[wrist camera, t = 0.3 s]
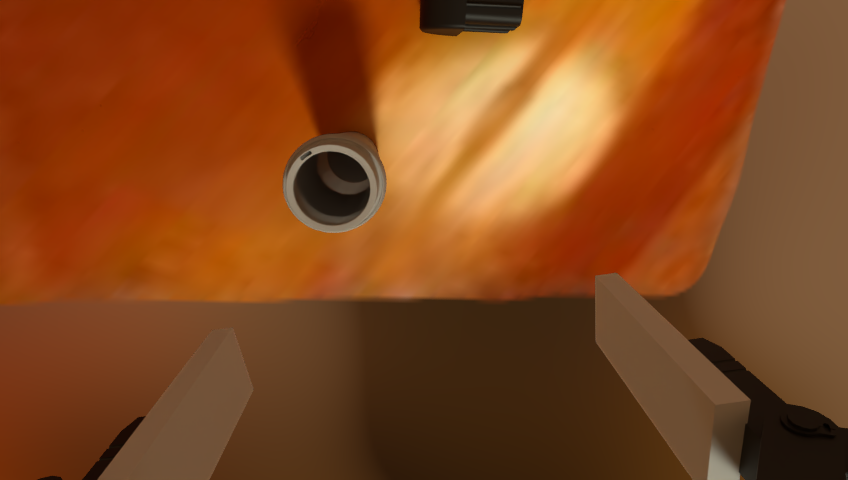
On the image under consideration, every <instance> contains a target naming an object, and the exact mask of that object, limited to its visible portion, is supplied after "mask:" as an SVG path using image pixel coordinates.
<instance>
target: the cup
mask: <svg viewBox="0 0 848 480" xmlns="http://www.w3.org/2000/svg"><path fill="white" fill-rule="evenodd" d="M385 192H386V173H385V170H384V166H383V164H382V162H381V160H380V157H379V154H378V151H377V148H376V146H375V145H374V143H373V142H372V141H371V139H369V138H368V137H367V136H365V135H363V134H361V133H358V132H345V133H339V134H325V135H320V136H317V137H315V138H312V139H310V140H308V141H307V142H305V143H304V144H302V145H301V146H300V147H299V148H298V149H297V150H296V151H295V152H294V153H293V154H292V156H291V157H290V159H289V161H288V163H287V165H286V167H285V171H284V175H283V193H284V197H285V200H286V202H287V205H288V207H289V208H290V210H291V211H292V213H293V214H294V215H295V216H296V217H297V218H298V219H299V220H300V221H301V222H303V223H304V224H305V225H307V226H309V227H311V228H313V229H315V230H319V231H323V232H331V233H338V232H345V231H349V230H352V229H355V228H357V227H359V226H361V225H362V224H364V223H366V222H367V221H368V220H369V219H370V218H372V217H373V215H374V214H375V213H376V212H377V211H378V209H379V207H380V206H381V204H382V202H383V199H384V196H385Z"/></svg>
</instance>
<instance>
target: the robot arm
mask: <svg viewBox="0 0 848 480" xmlns="http://www.w3.org/2000/svg"><path fill="white" fill-rule="evenodd" d="M595 302H596V303H595V307H596V343H597V344H598V346H599V347H600V348H601V350H602V351H603V353H604V354H605V355H606V357H607V358H608V360H609V361H610V363H611V364H612V365H613V367H614V368H615V370H616V371H617V372H618V374H619V375H620V377H621V378H622V380H623V381H624V383H625V384H626V385H627V387H628V388H629V390H630V391H631V392H632V394H633V395H634V397H635V398H636V400H637V401H638V402H639V404H640V405H641V407H642V408H643V410H644V411H645V412H646V414H647V415H648V417H649V418H650V419H651V421H652V422H653V424H654V425H655V426H656V428H657V429H658V431H659V432H660V434H661V435H662V436H663V438H664V439H665V441H666V442H667V444H668V445H669V446H670V448H671V449H672V451H673V452H674V454H675V455H676V456H677V458H678V459H679V460H680V462H681V464H682V465H683V466H684V468H685V469H686V471H687V472H688V474H689V475H690V476H691V478H692V479H693V480H739V479H740V474H741V475H742V477H743V478H744V479H745V480H848V428H840V427H838V426H837V425H836V424H835V423H834V422H832V421H831V420H830V419H829V418H827V417H825V416H824V415H822V414H820V413H819V412H816V411H814V410H811V409H808V408H805V407H802V406H796V405H790V404H786V403H785V402H784V401H783V400H782V399H780V398H779V397H778V396H777V395H776V394H775V393H774V392H772V391H771V390H770V389H769V388H768V387H766V385H764V384H763V383H762V382H761V381H760V380H759V379H757V378H756V377H755V376H754V375H753V374H752V373H751V372H750V371H746V368H745V367H744V366H742V365H741V364H740V363H739V362H738V361H735V358H733V357H732V356H731V355H730V354H729V353H728V352H727V351H725V350H724V349H723V348H722V347H720V346H718V345H716V344H714V343H712V342H710V341H708V340H706V339H704V338H698V339H691V340H687V339H686V338H685V337H684V336H683V335H682V334H681V333H680V332H679V331H677V330H676V329H675V328H674V327H673V326H672V325H671V324H670V323H669V322H668V321H667V320H666V319H665V318H664V317H663V316H662V315H661V314H659V312H657V311H656V310H655V309H654V308H653V307H652V306H651V305H650V304H649V303H648V302H647V301H646V300H645V299H644V298H643V297H642V296H641V295H640V294H639V293H637V292H636V291H635V290H634V289H633V288H632V287H631V286H630V285H629V284H628V283H627V282H626V281H625V280H624V279H623V278H622V277H621V276H620V275H618V274H617V273H612V274H605V275H598V276H595ZM252 391H253V386H252V384H251V381H250V377H249V374H248V371H247V369H246V365H245V362H244V359H243V356H242V353H241V350H240V347H239V344H238V342H237V339H236V336H235V333H234V330H233V328H232V327H231V328H224V329H217V330H212V331H211V332H210V333H209V335H208V336H207V337H206V339H205V340H204V341H203V342H202V344H201V345H200V346H199V348H198V349H197V350H196V352H195V353H194V354H193V355H192V357H191V358H190V359H189V361H188V362H187V364H186V365H185V366H184V367H183V369H182V370H181V371H180V373H179V374H178V375H177V377H176V378H175V379H174V380H173V382H172V383H171V384H170V386H169V387H168V388H167V390H166V391H165V392H164V394H163V395H162V396H161V397H160V399H159V400H158V401H157V403H156V404H155V405H154V407H153V408H152V409H151V410H150V412H149V413H148V414H147V416H144V417H139V418H137V419H136V420H134V421H133V422H132V423H131V424H130V425H128V426H127V427H126V428H125V429H123V430H122V431H121V432H120V433H119V435H118V436H117V437H116V439H115V440H114V441H113V442H112V443H111V445H110V446H109V449H107V450H106V451H105V452H104V453H103V455H102V456H101V457H100V460H99V461H97V462H96V463H95V465H94V466H93V467H92V468H91V469H90V471H89V472H88V473H87V475H86V476H85V477H84V478H83V479H82V480H209V479H210V477H211V475H212V473H213V471H214V469H215V467H216V465H217V463H218V461H219V459H220V456H221V454H222V452H223V450H224V448H225V446H226V444H227V442H228V440H229V438H230V436H231V434H232V432H233V430H234V428H235V426H236V424H237V422H238V420H239V418H240V416H241V414H242V412H243V410H244V408H245V405H246V403H247V401H248V399H249V397H250V395H251V393H252ZM38 480H62V478H61V477H57V476H49V477H45V478H41V479H38Z"/></svg>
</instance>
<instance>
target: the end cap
mask: <svg viewBox="0 0 848 480" xmlns="http://www.w3.org/2000/svg"><path fill="white" fill-rule="evenodd" d="M523 4H524V0H421V2H420V29H421V31H423V32H425V33H430V34H436V35H447V36H457V35H458V34H460V33H461V32H462V31H469V32H490V33H508V32H509V31H510V30H511V31H513V30H515V29H516V28H517V27H519V26H520V24H521V20H522V13H523Z"/></svg>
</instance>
